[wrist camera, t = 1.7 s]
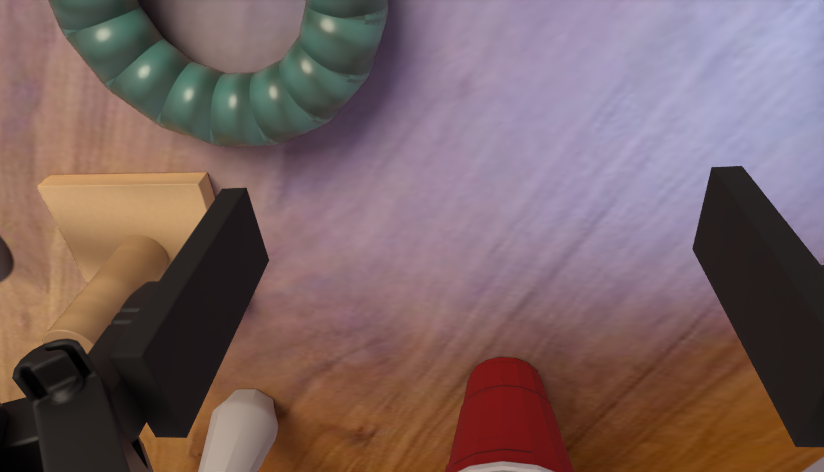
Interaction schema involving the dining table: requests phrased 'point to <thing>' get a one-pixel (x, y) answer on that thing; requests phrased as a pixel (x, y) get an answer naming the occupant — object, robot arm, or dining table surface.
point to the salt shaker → (240, 433)
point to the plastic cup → (507, 423)
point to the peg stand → (120, 237)
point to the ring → (229, 92)
